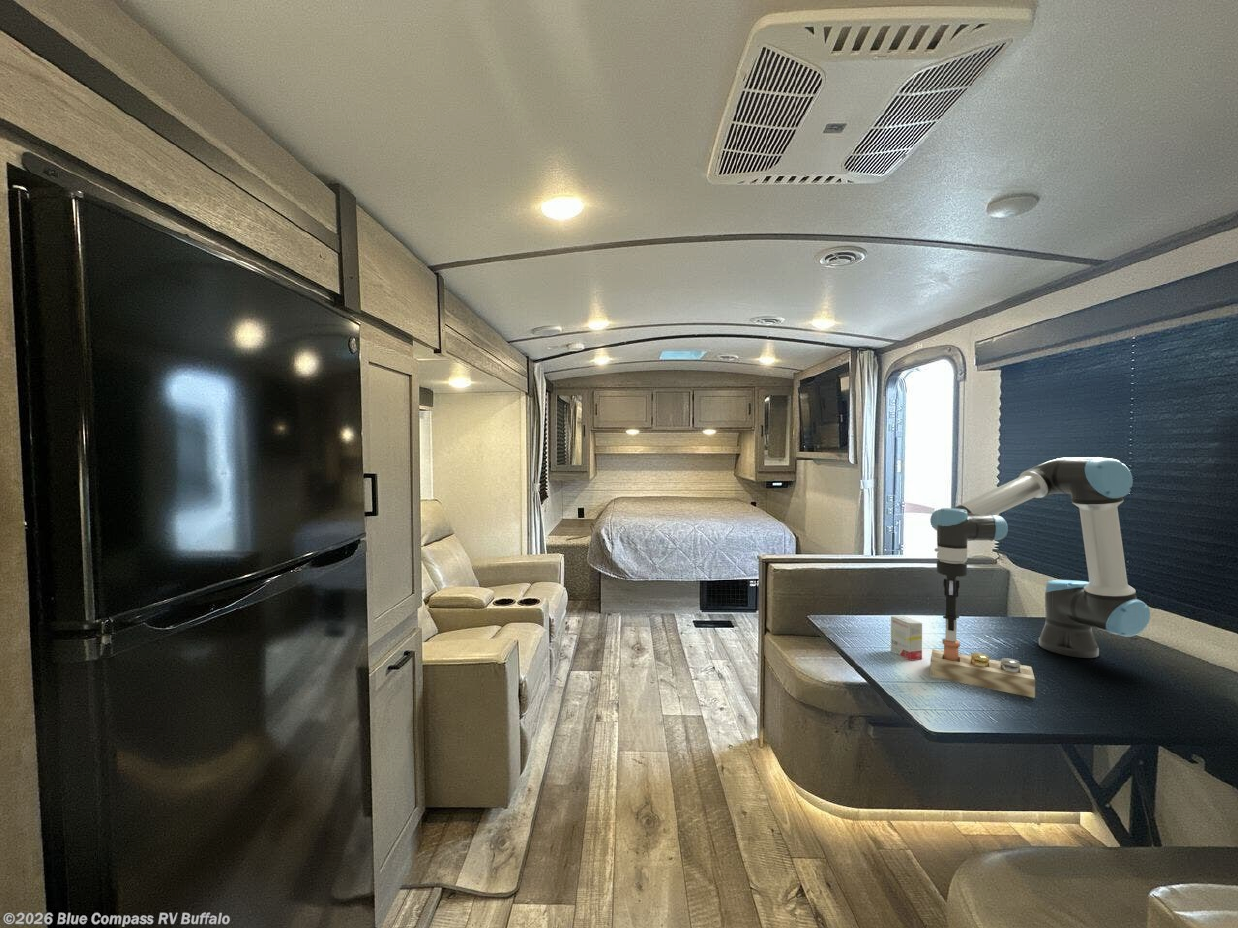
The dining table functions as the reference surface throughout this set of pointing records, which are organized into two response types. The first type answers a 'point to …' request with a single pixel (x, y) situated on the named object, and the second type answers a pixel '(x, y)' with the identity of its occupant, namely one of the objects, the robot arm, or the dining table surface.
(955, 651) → the plunger terracotta
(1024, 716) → the dining table surface
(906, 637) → the ink box
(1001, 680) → the plunger block
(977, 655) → the plunger brass
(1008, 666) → the plunger grey
